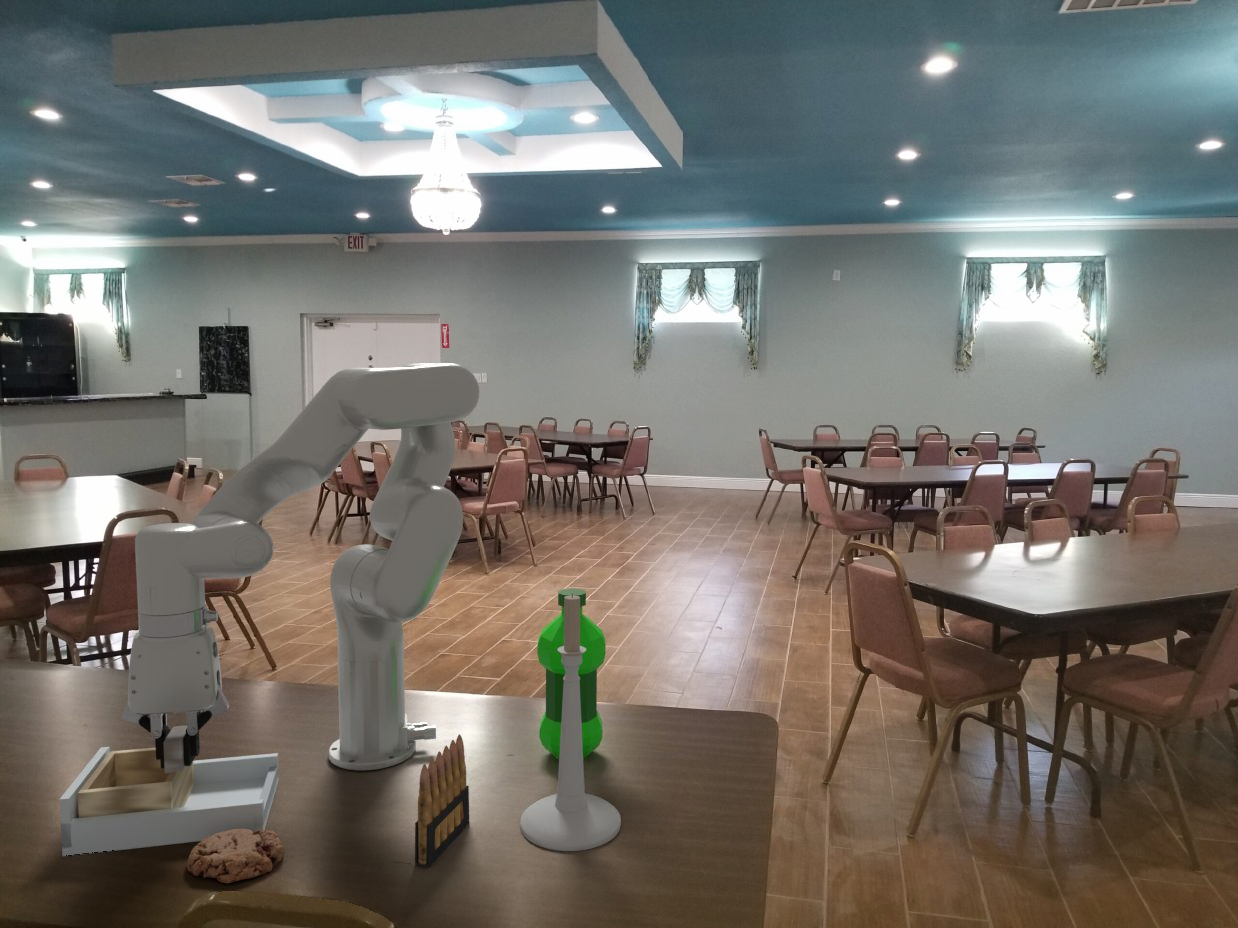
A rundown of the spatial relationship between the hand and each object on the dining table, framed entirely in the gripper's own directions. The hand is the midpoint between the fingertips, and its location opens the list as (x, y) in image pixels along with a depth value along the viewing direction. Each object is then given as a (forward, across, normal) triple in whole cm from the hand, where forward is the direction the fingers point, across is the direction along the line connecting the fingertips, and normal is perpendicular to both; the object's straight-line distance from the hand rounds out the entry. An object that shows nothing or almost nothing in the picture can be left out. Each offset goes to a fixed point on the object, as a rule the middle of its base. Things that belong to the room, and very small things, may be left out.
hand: (178, 761), depth 110 cm
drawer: (+6, +4, 0) cm, 7 cm away
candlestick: (+7, -48, +14) cm, 51 cm away
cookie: (+8, -9, +13) cm, 18 cm away
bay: (+7, 0, 0) cm, 7 cm away
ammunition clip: (+7, -32, +14) cm, 36 cm away
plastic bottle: (+7, -52, -6) cm, 53 cm away
